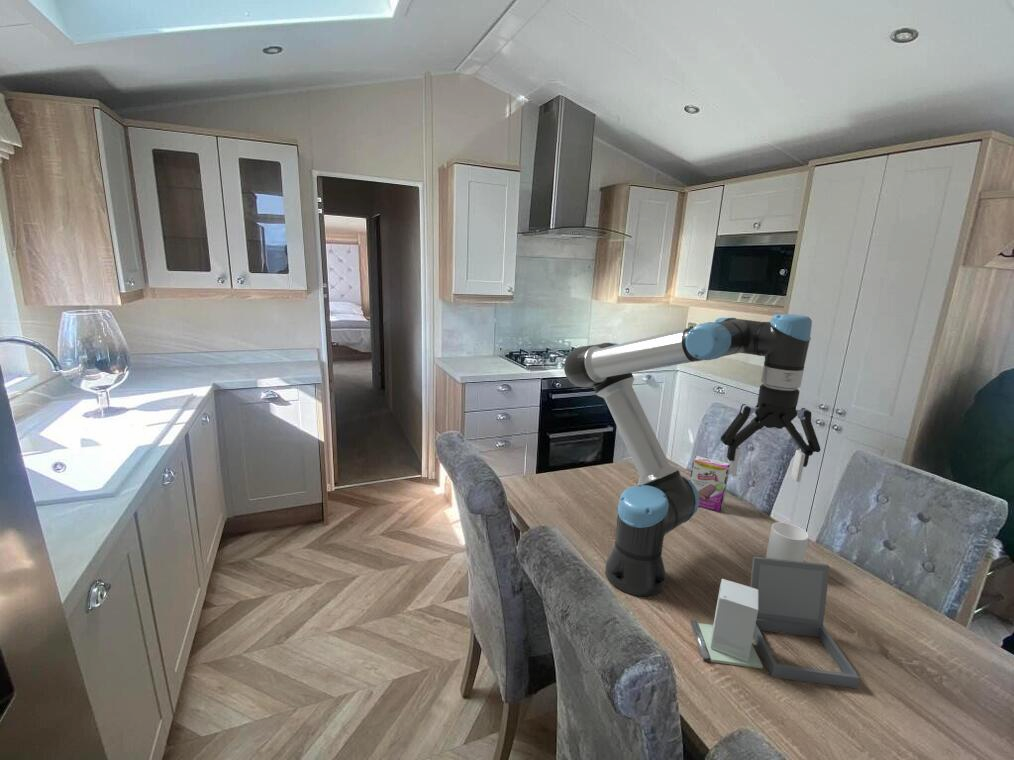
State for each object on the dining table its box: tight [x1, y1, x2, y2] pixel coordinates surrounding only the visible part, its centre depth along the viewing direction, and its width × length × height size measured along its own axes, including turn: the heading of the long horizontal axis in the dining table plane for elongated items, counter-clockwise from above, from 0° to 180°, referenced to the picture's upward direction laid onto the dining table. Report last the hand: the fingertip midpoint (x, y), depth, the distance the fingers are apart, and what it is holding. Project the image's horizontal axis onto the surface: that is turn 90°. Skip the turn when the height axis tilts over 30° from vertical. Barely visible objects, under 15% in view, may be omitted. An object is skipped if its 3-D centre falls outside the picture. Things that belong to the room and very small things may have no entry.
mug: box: [765, 521, 810, 562], centre depth 127 cm, size 9×12×11 cm
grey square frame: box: [753, 618, 861, 689], centre depth 97 cm, size 16×14×2 cm
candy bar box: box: [689, 455, 730, 514], centre depth 156 cm, size 11×5×16 cm, turn 58°
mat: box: [697, 622, 764, 669], centre depth 99 cm, size 10×10×1 cm
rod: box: [690, 619, 710, 662], centre depth 100 cm, size 1×10×1 cm, turn 172°
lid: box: [749, 556, 830, 626], centre depth 103 cm, size 16×14×1 cm
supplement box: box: [710, 578, 759, 662], centre depth 97 cm, size 7×7×13 cm
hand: (763, 476), depth 106 cm, fingers open, 13 cm apart
